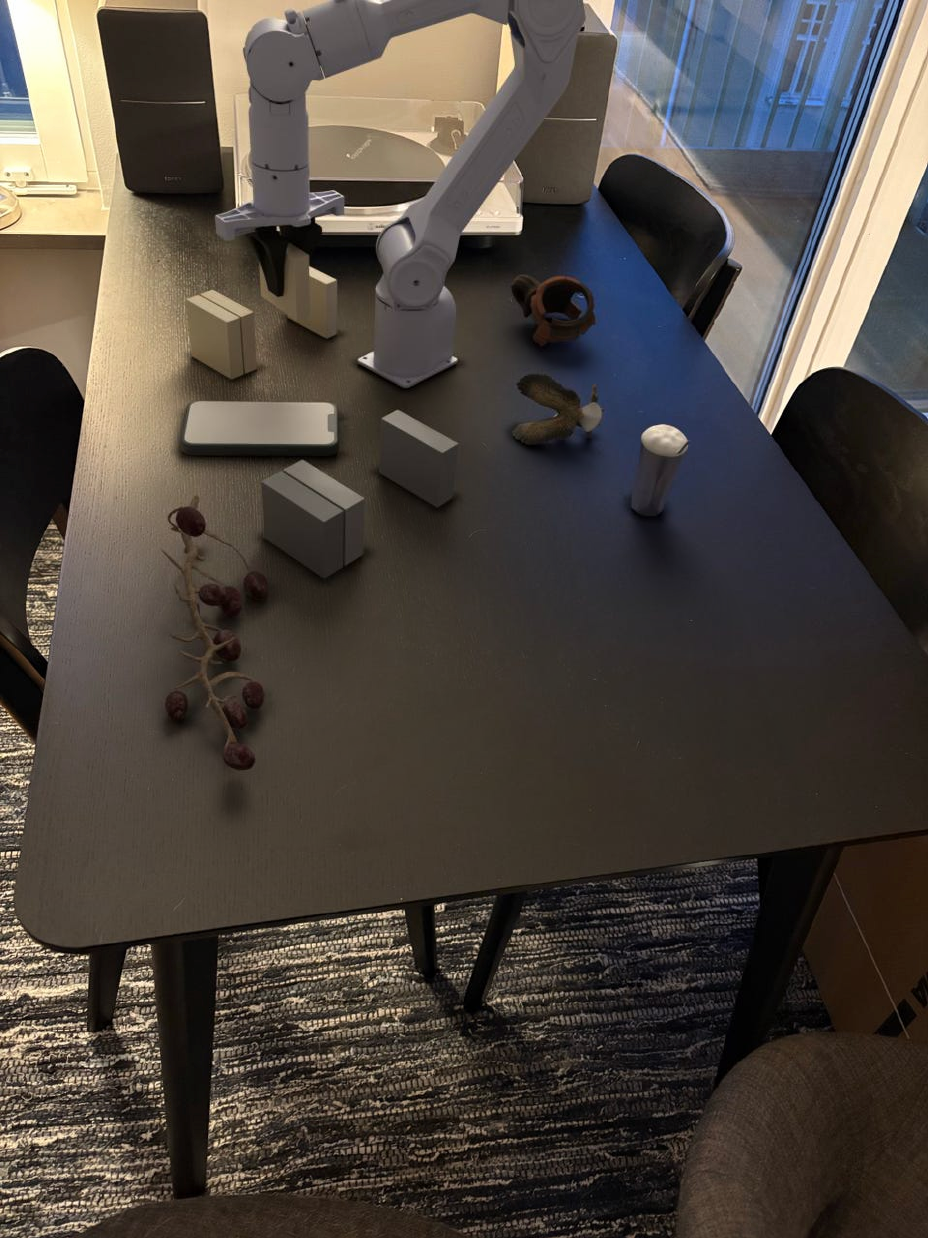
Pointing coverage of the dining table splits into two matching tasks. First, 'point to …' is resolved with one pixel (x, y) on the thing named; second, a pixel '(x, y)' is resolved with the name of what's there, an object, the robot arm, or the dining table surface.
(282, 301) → the cream square block
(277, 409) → the grey smartphone
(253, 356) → the cream books
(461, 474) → the dining table surface
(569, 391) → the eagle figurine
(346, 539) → the grey books
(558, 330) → the rusty ring housing
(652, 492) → the milkshake
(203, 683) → the decorative branch
